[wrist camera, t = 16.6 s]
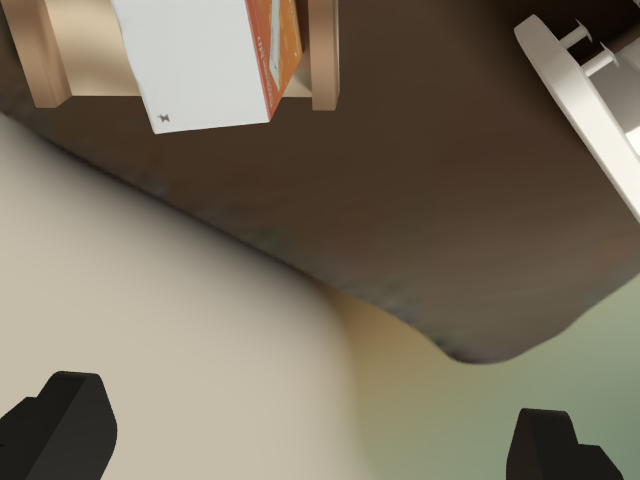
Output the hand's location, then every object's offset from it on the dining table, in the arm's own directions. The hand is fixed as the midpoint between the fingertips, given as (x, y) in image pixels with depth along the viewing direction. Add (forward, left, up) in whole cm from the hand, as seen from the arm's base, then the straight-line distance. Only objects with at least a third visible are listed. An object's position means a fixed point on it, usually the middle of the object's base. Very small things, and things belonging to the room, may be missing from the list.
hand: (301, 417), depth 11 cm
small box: (-2, -8, -32) cm, 33 cm away
